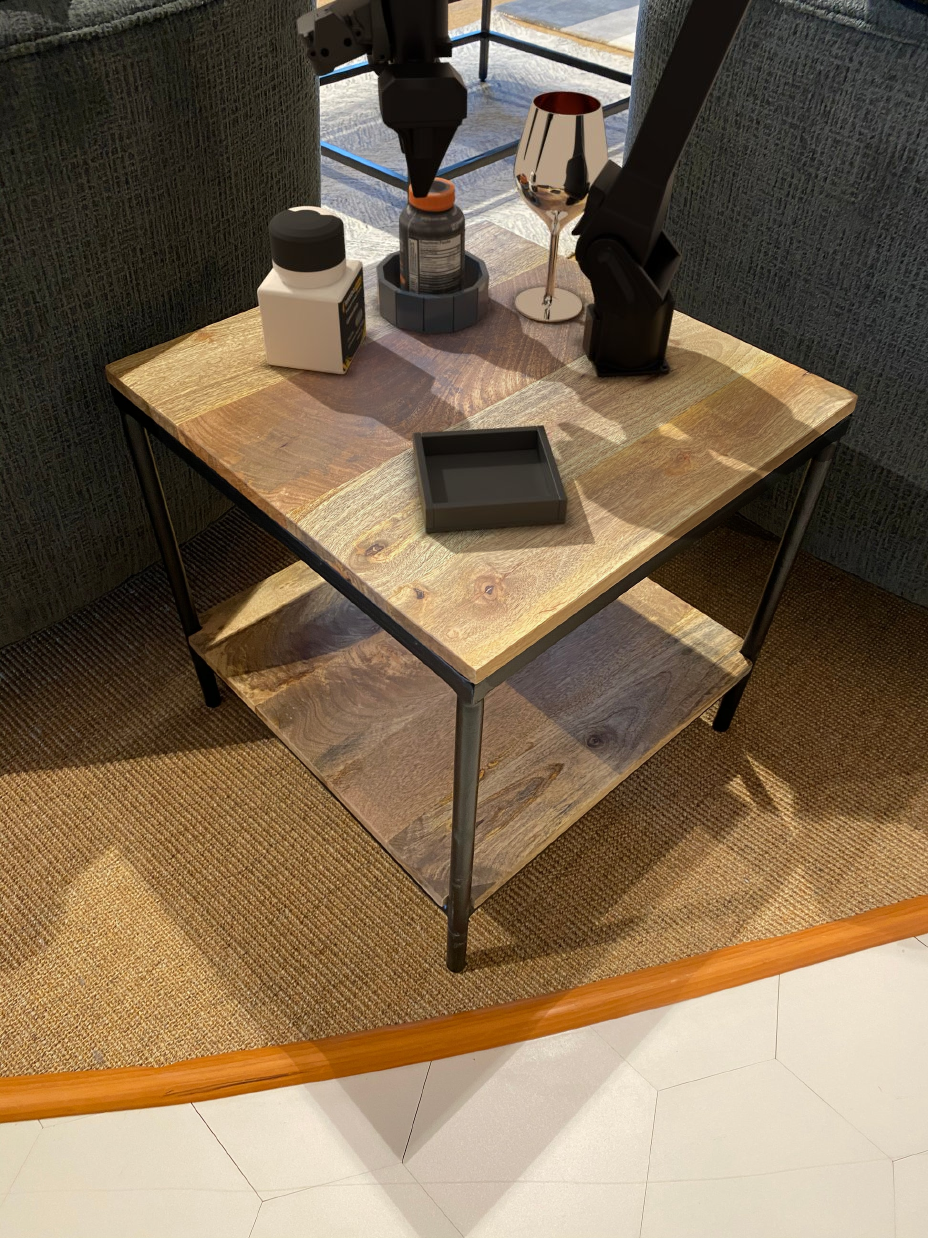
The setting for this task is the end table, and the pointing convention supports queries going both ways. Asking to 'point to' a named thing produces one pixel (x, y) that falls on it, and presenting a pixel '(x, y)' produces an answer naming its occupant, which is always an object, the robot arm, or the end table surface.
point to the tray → (488, 479)
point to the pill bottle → (432, 242)
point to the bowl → (432, 299)
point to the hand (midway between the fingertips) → (413, 174)
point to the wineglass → (558, 182)
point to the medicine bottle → (311, 293)
